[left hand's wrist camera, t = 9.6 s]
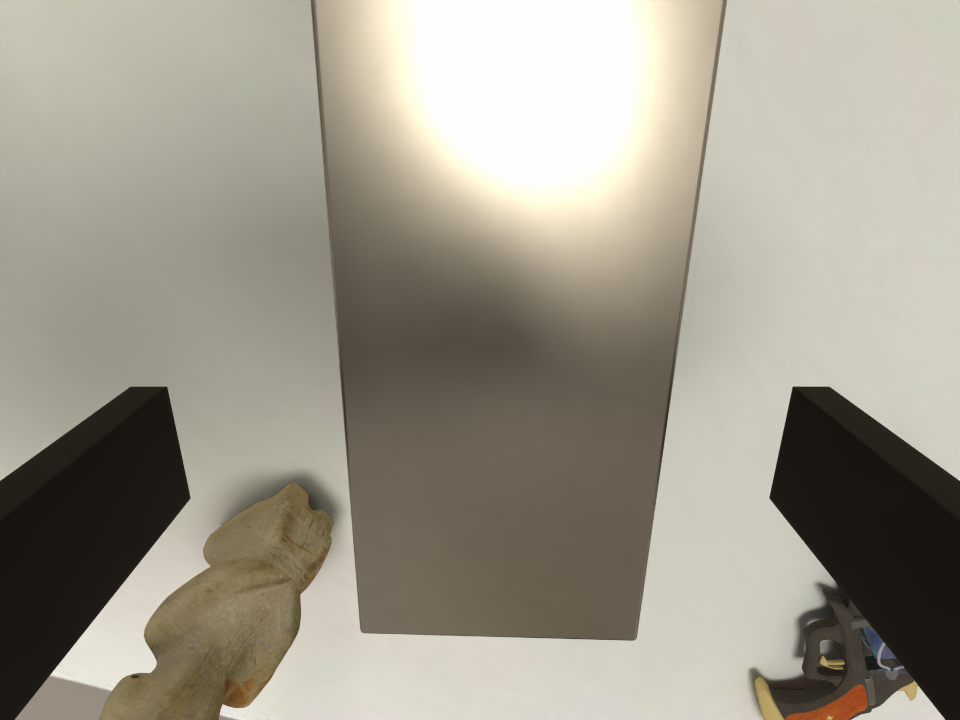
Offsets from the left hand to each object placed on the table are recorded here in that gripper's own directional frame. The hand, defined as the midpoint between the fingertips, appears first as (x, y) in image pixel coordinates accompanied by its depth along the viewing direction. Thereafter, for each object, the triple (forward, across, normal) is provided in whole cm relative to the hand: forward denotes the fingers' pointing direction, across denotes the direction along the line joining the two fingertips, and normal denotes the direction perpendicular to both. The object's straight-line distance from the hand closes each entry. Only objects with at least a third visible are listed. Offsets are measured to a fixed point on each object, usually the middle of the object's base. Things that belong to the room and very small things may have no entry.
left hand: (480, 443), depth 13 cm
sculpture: (+17, +11, +15) cm, 25 cm away
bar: (+6, -1, -9) cm, 11 cm away
